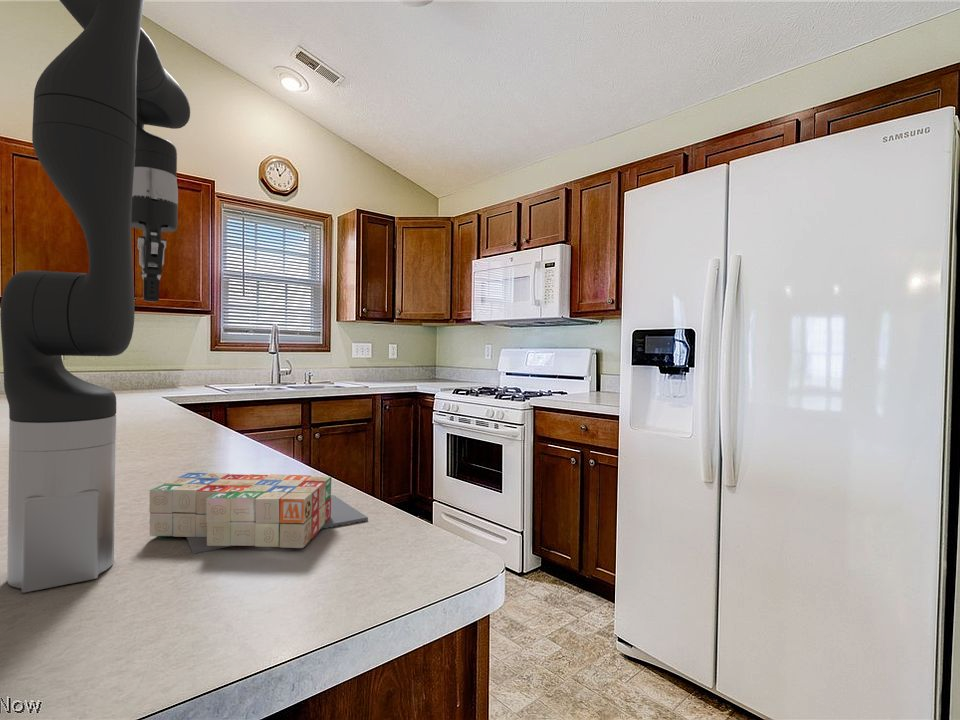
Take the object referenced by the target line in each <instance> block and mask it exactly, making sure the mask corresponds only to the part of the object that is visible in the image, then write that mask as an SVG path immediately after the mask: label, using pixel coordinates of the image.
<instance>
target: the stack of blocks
mask: <svg viewBox="0 0 960 720" xmlns="http://www.w3.org/2000/svg"><path fill="white" fill-rule="evenodd" d="M331 495H332V476H326V475H325V476H324V475H323V476H322V475H321V476H320V475H308V474H304V475H303V474H280V473H279V474H278V473H277V474H276V473H275V474H274V473H273V474H272V473H271V474H254V473H253V474H242V473H241V474H239V473H237V474H233V473H231V474H230V473H226V472H223V473H222V472H209V473H208V472H187V473H185V474H183V475H180V476H177V477H175V478H172V479H170V480H168V481H165V482H164V483H163V484H161V485H159V486H157V487H154V488H152V489H150V490H149V506H148V507H149V508H148V509H149V510H148V511H149V536H150V537H179V538H181V537H183V538H184V537H185V538H186V537H207V546H230V547H235V546H243V547H244V546H246V547H247V546H248V547H253V546H254V547H256V548H257V547H259V548H260V547H263V548H264V547H265V548H266V547H267V548H282V549H283V548H288V549H291V548H292V549H303V548H304V547H306V546H307V544H308V543H309V542H310V541H311V540H313V539H314V537H315V536H316V535H317V534H318V533H319V532H320V529H321V527H322V526H323V525H324V524H325V523H326V522H327V521H328V520H329V519H330V517H331ZM321 530H322V529H321ZM231 545H233V546H231Z"/></svg>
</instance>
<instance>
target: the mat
mask: <svg viewBox="0 0 960 720" xmlns="http://www.w3.org/2000/svg"><path fill="white" fill-rule="evenodd" d="M362 521H363V522H367V521H369V517H368V516H367V515H365V514H364V513H362V512H360V511H359V510H358V509H356V508H354V507H353V506H351V505H349V504H348V503H346V501H344V500H342V499H341V498H339V497H337V496H336V495H335V494H331V517H330V519H329V520H328V521H327V522H326V523H325V524H324V525H323V526H322V527H321V530H323V529H322V528H326V529H328V528H327V527H331V528H334V527H333V526H337V527H339V526H338V525H342V526H345V525H344V524H347V525H350V524H349V523H352V524H357V523H356V522H358V523H361V522H362ZM363 522H362V523H363ZM185 538H186V540H187V543H188V545H189V547H190V549H191V551H192V554H199V553H203V552H208V551H209V552H210V551H213V550H218V549H224V548H230V547H234V546H233V545H231V546H207V537H185Z"/></svg>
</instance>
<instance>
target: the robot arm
mask: <svg viewBox="0 0 960 720" xmlns="http://www.w3.org/2000/svg"><path fill="white" fill-rule="evenodd" d="M59 2H60V3H61V4H62V5H63V6H64V8H65V9H66V10H67V11H68V13H70V15H71V16H72V17H73V18H74V19H75V21H76V22H77V23H78V24H79V25H80V27H81V28H82V29H83V31H82V32H81V33H80V34H79V35H78V36H77V37H76V38H75V39H73V41H71V42H70V43H69V44H68V45H67V46H66V47H65V48H64V49H63V50H62V51H61V52H59V54H58V55H57V56H56V57H55V58H54V59H53V60H52V61H50V63H49V64H48V65H47V66H46V67H45V68H44V70H43V71H42V73H41V74H40V76H39V77H38V79H37V81H36V84H35V88H34V93H33V94H34V95H33V109H32V131H31V132H32V133H31V134H32V136H31V137H32V140H31V142H32V148H33V151H34V153H35V155H36V157H37V160H38V161H39V163H40V165H41V166H42V169H44V171H45V173H46V175H47V176H48V177H49V179H50V181H51V182H52V184H53V185H54V186H55V188H56V189H57V190H58V192H59V194H60V195H61V196H62V198H63V200H64V201H65V202H66V203H67V204H68V206H69V208H70V209H71V211H72V212H73V214H74V216H75V217H76V219H77V221H78V223H79V225H80V227H81V229H82V232H83V235H84V237H85V240H86V247H87V251H88V262H89V263H88V273H87V272H86V273H85V272H68V271H53V270H52V271H51V270H48V271H47V270H22V271H19V272H16V273H14V275H12V276H11V277H10V279H9V280H8V281H7V283H6V285H5V287H4V289H3V292H2V296H1V301H0V335H1V349H2V351H1V352H2V364H3V365H2V366H3V386H4V387H3V389H4V393H5V397H6V400H7V403H8V413H9V415H8V416H9V417H8V418H9V435H8V438H9V441H8V442H9V443H8V444H9V445H8V481H7V482H8V489H7V490H8V491H7V492H8V493H7V494H8V496H7V497H8V498H7V499H8V501H7V577H6V582H7V583H8V585H9V586H11V587H13V588H17V589H21V593H28V592H29V593H30V592H33V591H39V590H44V589H49V588H55V587H60V586H64V585H69V584H75V583H80V582H85V581H90V580H94V579H98V578H99V575H100V574H101V573H103V572H105V571H107V570H108V569H109V568H110V567H112V566H113V564H114V563H115V532H116V531H115V530H116V529H115V517H116V516H115V513H116V511H115V507H116V503H115V502H116V450H117V449H116V447H117V446H116V444H117V442H116V441H117V415H116V414H117V397H116V393H115V392H114V391H113V390H112V389H109V388H106V387H103V386H101V385H98V384H94V383H91V382H89V381H85V380H84V379H81V378H79V377H77V376H76V375H74V374H73V373H71V372H70V371H69V370H68V369H67V368H66V367H65V366H64V362H63V358H62V357H64V356H65V357H66V356H69V357H73V356H74V357H114V356H120V355H121V354H123V353H124V352H125V351H127V349H128V348H129V346H130V343H131V340H132V338H133V333H134V325H135V285H134V282H135V280H134V265H133V262H134V261H133V245H132V243H133V242H132V241H133V240H132V239H133V238H132V228H134V229H140V230H142V232H143V233H142V236H141V235H139V236H138V238H137V249H138V251H139V252H138V264H139V266H140V267H141V271H140V275H141V278H142V281H143V282H142V283H143V285H142V290H143V291H142V299H143V301H144V302H150V303H151V302H152V303H157V302H158V301H159V299H160V280H161V277H162V273H163V266H164V264H165V249H167V239H164V238H162V233H173V232H176V231H177V230H178V223H179V222H178V219H179V217H178V215H179V214H178V213H179V212H178V210H179V207H178V206H179V205H178V204H179V188H178V181H177V180H178V179H177V177H178V176H177V172H178V171H177V170H178V164H177V163H178V152H177V148H176V146H175V144H174V143H172V142H171V141H170V140H168V139H166V138H163V137H161V136H159V135H155V134H153V133H150V132H147V131H146V130H145V126H152V127H153V126H154V127H160V128H165V129H166V128H167V129H172V130H173V129H175V130H176V129H177V130H178V129H182V128H183V127H186V125H187V124H188V123H189V121H190V118H191V107H190V106H191V105H190V102H189V99H188V97H187V95H186V93H185V91H184V90H183V88H182V87H181V85H180V84H179V83H178V82H177V81H176V79H175V78H173V76H172V75H171V74H170V73H169V72H168V71H167V70H166V69H165V68H164V65H163V62H162V61H161V58H160V54H159V52H158V50H157V47H156V46H155V44H154V43H153V41H152V40H151V39H152V38H150V36H149V35H148V33H146V32H145V30H144V29H143V28H142V19H143V12H144V4H145V0H59Z"/></svg>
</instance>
